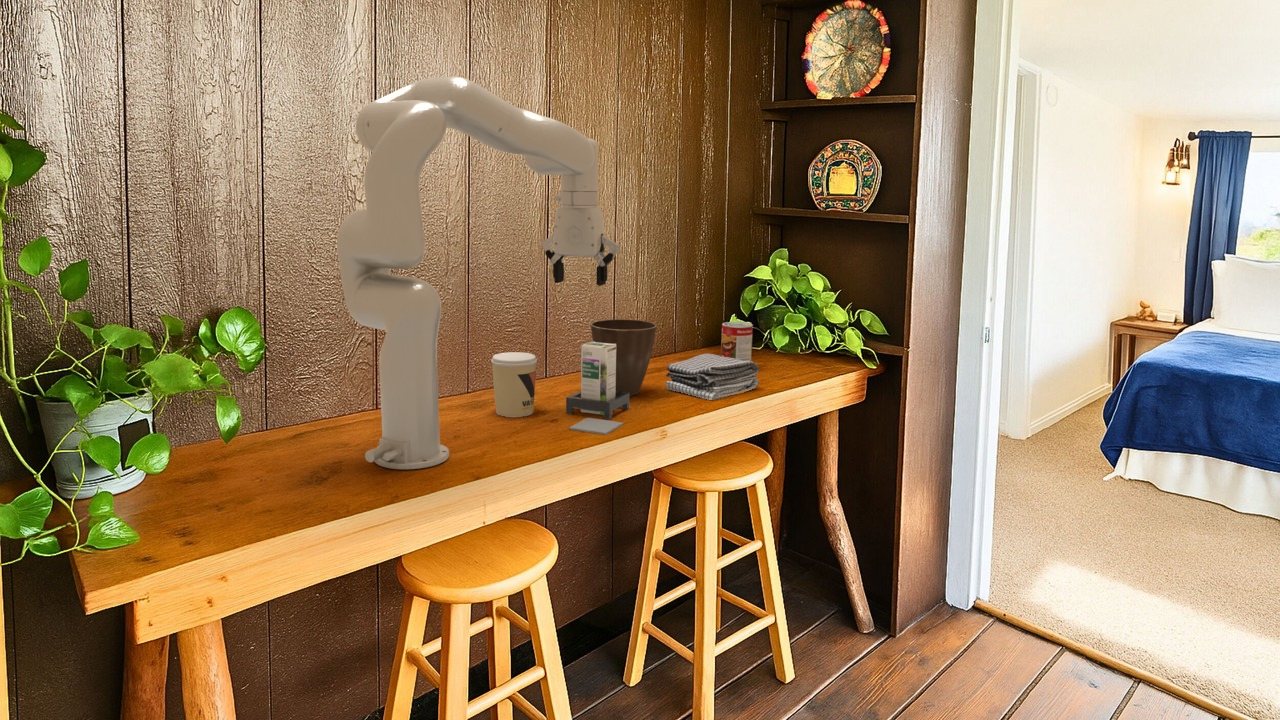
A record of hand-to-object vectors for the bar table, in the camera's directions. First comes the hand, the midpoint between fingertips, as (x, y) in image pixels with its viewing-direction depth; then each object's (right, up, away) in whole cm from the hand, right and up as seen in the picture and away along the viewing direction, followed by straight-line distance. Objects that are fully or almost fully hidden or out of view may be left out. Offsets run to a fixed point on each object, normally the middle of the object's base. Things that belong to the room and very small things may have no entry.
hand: (580, 283), depth 181 cm
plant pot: (+9, -24, +19) cm, 31 cm away
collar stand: (+4, -27, +3) cm, 27 cm away
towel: (+29, -23, +24) cm, 44 cm away
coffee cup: (-14, -27, 0) cm, 30 cm away
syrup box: (+4, -27, +3) cm, 27 cm away
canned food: (+37, -19, +45) cm, 62 cm away
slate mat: (+4, -29, -9) cm, 31 cm away
